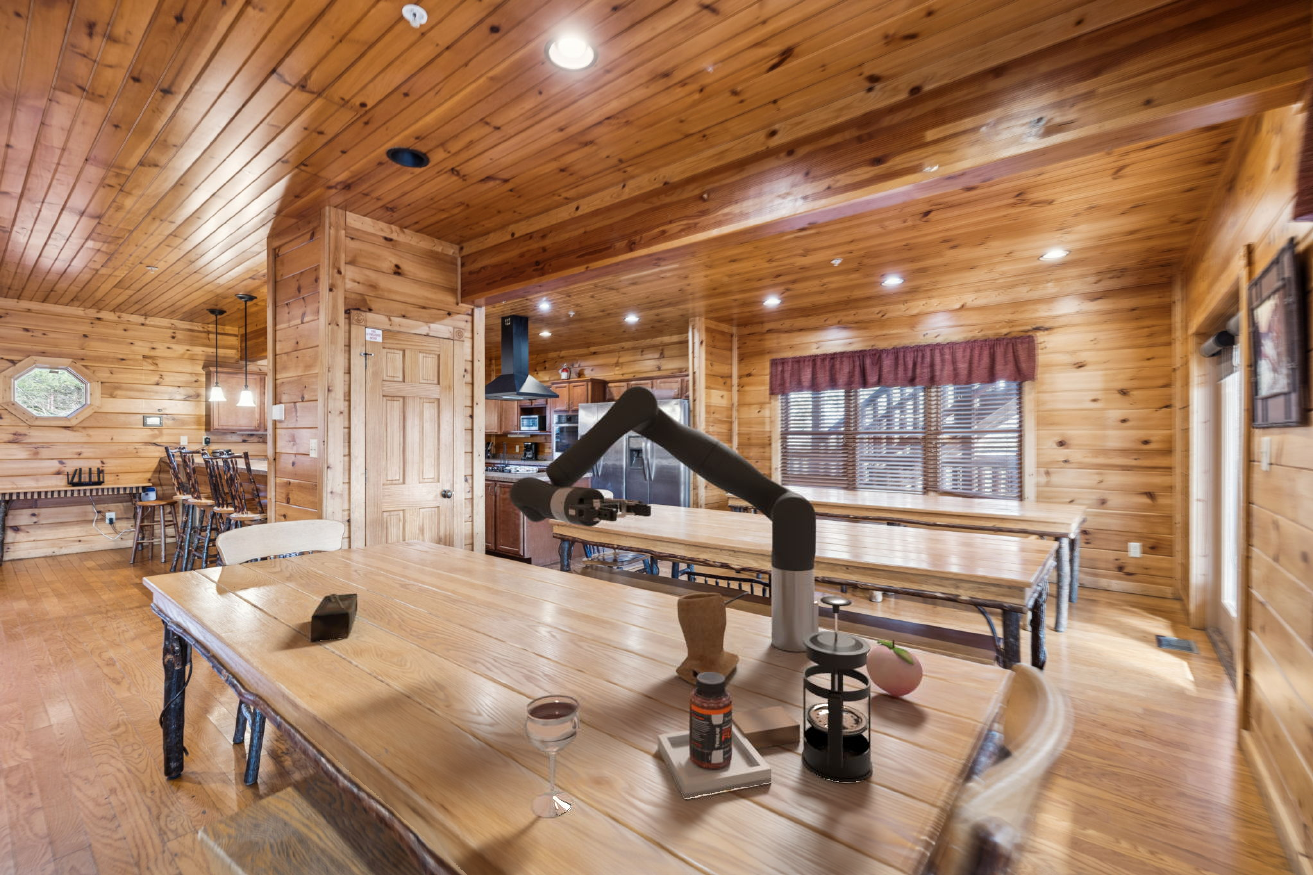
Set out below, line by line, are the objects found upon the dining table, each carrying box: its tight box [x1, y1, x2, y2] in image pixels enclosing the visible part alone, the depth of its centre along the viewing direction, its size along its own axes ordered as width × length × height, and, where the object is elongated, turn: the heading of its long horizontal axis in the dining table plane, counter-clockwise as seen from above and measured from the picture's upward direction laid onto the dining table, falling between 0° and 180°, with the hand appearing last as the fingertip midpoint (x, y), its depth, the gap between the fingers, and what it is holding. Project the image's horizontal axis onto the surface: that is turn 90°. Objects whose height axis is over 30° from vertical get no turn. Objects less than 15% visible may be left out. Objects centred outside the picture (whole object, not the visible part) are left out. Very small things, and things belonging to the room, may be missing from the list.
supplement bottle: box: [688, 672, 733, 769], centre depth 76 cm, size 6×6×11 cm
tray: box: [657, 723, 772, 799], centre depth 76 cm, size 12×12×2 cm
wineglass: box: [524, 694, 581, 818], centre depth 68 cm, size 7×7×12 cm
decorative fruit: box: [865, 639, 924, 698], centre depth 96 cm, size 9×8×10 cm
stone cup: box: [675, 592, 740, 686], centre depth 107 cm, size 15×12×15 cm
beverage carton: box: [310, 593, 358, 643], centre depth 132 cm, size 8×19×7 cm, turn 23°
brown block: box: [732, 705, 801, 750], centre depth 84 cm, size 9×6×2 cm, turn 106°
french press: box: [801, 595, 874, 782], centre depth 76 cm, size 12×9×23 cm
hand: (633, 513), depth 99 cm, fingers open, 8 cm apart
